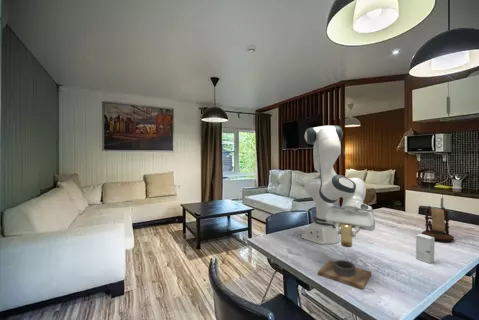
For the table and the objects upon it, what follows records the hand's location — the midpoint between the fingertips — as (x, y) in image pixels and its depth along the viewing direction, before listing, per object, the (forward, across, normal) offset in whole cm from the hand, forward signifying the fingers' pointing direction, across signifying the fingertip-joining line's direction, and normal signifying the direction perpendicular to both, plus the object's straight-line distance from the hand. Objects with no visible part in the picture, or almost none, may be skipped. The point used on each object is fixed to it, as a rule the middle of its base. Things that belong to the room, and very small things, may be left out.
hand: (345, 234), depth 97 cm
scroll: (-43, +30, +69) cm, 87 cm away
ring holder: (+13, -1, +13) cm, 18 cm away
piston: (+3, 0, +4) cm, 5 cm away
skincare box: (-14, +25, +40) cm, 50 cm away
